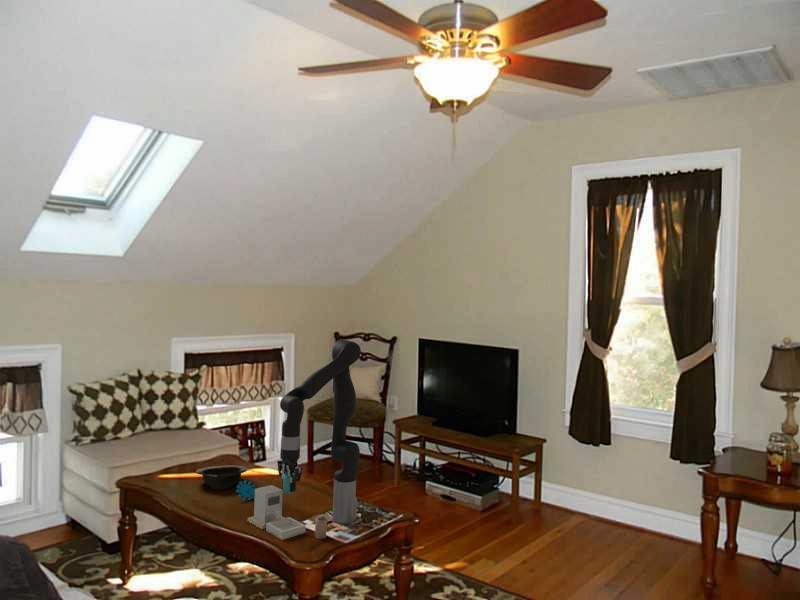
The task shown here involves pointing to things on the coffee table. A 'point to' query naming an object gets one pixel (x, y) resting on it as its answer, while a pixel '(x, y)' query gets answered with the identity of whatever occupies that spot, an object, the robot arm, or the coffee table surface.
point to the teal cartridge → (286, 483)
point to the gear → (246, 490)
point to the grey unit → (267, 506)
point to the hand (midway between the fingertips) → (288, 489)
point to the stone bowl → (222, 476)
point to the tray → (285, 528)
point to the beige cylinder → (320, 527)
